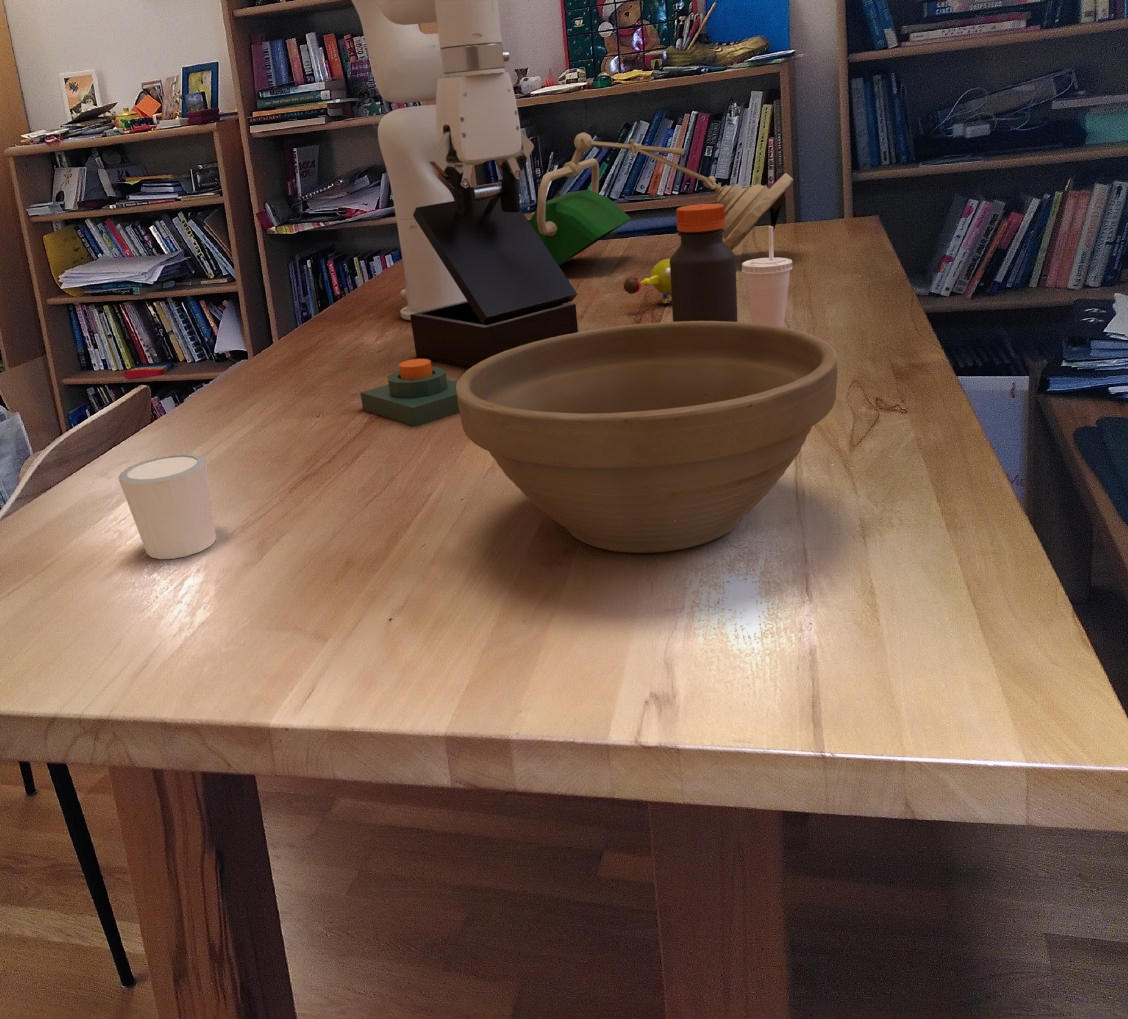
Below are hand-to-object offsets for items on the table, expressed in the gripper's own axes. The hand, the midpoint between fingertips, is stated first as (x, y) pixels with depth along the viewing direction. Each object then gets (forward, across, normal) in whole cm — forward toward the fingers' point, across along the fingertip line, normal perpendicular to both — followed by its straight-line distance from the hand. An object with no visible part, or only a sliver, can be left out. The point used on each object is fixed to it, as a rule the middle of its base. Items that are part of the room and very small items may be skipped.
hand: (489, 214), depth 133 cm
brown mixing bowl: (+18, +28, +55) cm, 64 cm away
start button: (+14, +21, +11) cm, 28 cm away
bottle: (+18, 0, +36) cm, 41 cm away
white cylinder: (+18, +56, +28) cm, 65 cm away
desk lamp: (+19, -59, -27) cm, 67 cm away
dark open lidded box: (+18, 0, -2) cm, 18 cm away
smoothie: (+18, -24, +25) cm, 39 cm away
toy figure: (+19, -34, -2) cm, 39 cm away
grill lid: (+6, 0, 0) cm, 6 cm away
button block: (+18, +21, +11) cm, 30 cm away
